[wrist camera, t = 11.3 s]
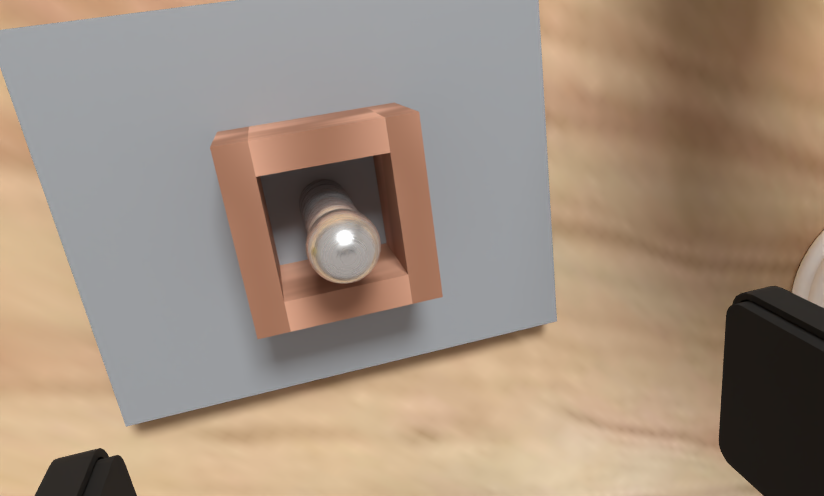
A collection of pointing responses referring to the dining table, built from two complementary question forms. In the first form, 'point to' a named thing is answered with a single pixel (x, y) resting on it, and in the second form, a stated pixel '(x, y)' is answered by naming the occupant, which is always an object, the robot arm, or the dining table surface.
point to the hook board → (280, 177)
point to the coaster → (812, 274)
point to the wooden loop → (298, 282)
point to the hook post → (337, 233)
